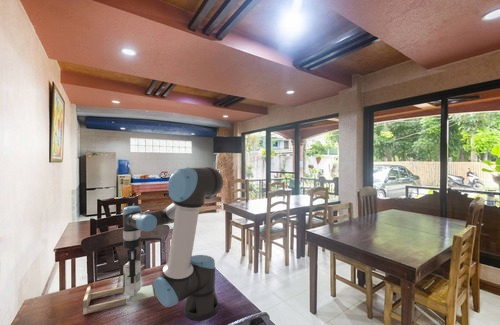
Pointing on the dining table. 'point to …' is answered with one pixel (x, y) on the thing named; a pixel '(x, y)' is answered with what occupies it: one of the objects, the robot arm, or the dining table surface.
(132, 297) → the sage mat
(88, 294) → the wooden channel
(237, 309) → the dining table surface
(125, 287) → the syrup box
